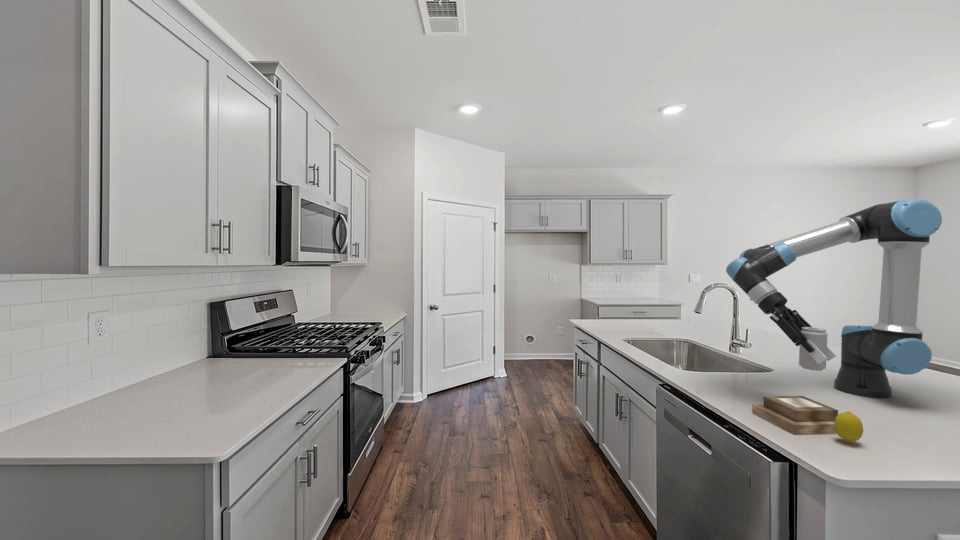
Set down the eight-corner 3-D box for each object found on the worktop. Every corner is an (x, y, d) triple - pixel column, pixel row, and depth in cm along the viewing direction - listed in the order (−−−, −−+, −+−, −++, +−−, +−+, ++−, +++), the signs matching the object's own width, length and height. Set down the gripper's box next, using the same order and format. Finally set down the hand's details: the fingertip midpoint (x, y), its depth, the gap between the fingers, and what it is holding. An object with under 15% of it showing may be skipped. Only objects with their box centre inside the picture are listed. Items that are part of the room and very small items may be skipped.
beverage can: (820, 367, 129) (822, 327, 129) (829, 372, 123) (831, 330, 123) (795, 364, 131) (797, 325, 131) (803, 370, 125) (804, 329, 125)
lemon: (828, 438, 111) (828, 407, 111) (847, 437, 111) (848, 407, 111) (848, 448, 105) (849, 415, 105) (868, 447, 106) (869, 415, 106)
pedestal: (802, 411, 130) (803, 392, 130) (851, 433, 114) (851, 412, 114) (752, 412, 129) (752, 393, 129) (794, 434, 113) (794, 413, 113)
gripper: (772, 304, 145) (829, 362, 132) (743, 307, 135) (802, 371, 121) (790, 289, 140) (852, 349, 127) (762, 291, 130) (826, 356, 117)
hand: (827, 359), depth 124 cm, fingers closed on beverage can, 6 cm apart
